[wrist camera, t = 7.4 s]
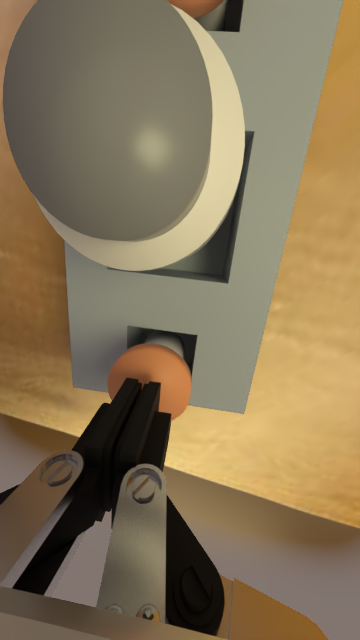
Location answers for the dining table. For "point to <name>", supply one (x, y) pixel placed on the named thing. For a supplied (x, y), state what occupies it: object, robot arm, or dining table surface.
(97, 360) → the housing
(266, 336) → the dining table surface
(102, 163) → the cartridge
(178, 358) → the orange knob plunger
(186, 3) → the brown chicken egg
